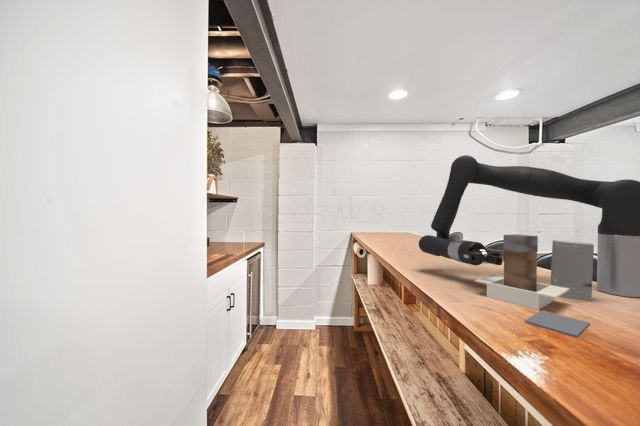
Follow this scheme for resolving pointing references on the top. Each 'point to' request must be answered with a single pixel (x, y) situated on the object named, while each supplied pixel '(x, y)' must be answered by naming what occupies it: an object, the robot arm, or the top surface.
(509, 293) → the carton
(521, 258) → the capped block
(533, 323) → the mat
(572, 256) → the skincare box
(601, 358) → the top surface
